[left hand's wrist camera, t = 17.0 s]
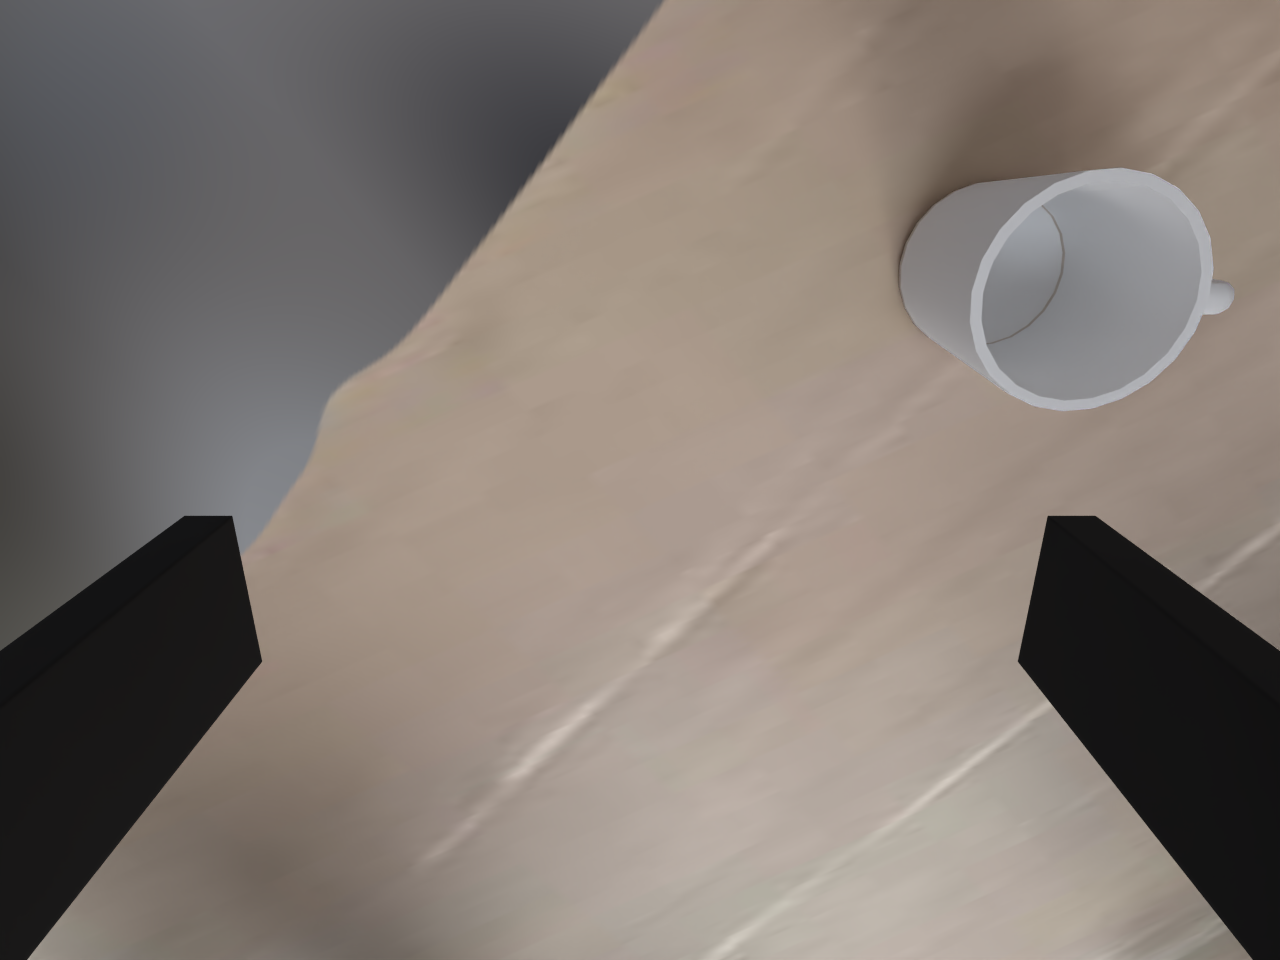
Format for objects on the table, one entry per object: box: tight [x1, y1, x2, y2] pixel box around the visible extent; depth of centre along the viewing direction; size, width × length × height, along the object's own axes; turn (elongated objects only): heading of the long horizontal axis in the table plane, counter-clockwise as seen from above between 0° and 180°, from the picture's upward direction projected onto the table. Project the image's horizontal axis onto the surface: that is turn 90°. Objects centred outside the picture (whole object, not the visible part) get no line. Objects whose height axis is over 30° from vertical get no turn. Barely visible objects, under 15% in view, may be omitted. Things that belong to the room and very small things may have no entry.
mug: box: [899, 168, 1234, 411], centre depth 34 cm, size 11×9×10 cm
